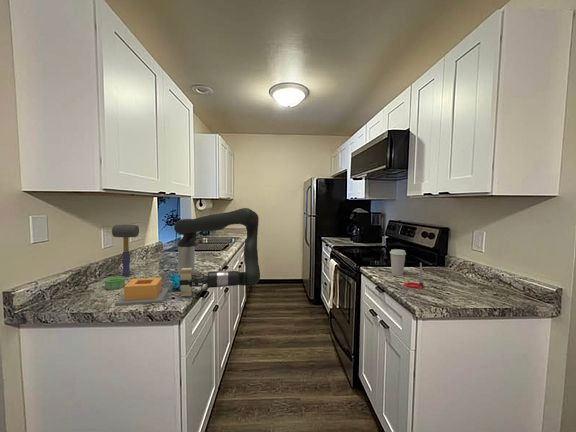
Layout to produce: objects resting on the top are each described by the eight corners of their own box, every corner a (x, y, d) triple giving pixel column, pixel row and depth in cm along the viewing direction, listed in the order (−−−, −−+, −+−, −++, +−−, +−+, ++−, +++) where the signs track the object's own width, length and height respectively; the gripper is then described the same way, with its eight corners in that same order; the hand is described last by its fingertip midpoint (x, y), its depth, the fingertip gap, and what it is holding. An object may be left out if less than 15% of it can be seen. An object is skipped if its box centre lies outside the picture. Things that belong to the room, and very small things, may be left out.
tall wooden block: (182, 293, 131) (181, 268, 131) (192, 292, 132) (192, 267, 132) (180, 296, 127) (180, 270, 126) (191, 295, 128) (191, 270, 127)
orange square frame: (128, 292, 132) (128, 277, 131) (169, 289, 136) (169, 275, 136) (114, 305, 114) (114, 289, 114) (161, 302, 119) (161, 286, 118)
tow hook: (402, 287, 147) (421, 289, 142) (401, 263, 147) (420, 264, 142) (406, 283, 154) (424, 286, 149) (405, 260, 154) (424, 262, 148)
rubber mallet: (111, 278, 155) (110, 224, 153) (117, 274, 162) (117, 223, 161) (135, 277, 156) (134, 225, 155) (140, 274, 164) (139, 224, 162)
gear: (179, 289, 131) (168, 273, 133) (171, 298, 132) (159, 281, 134) (193, 286, 142) (182, 271, 144) (185, 293, 142) (174, 278, 145)
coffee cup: (386, 274, 172) (387, 250, 172) (392, 271, 180) (393, 248, 179) (402, 277, 166) (403, 252, 165) (407, 274, 173) (408, 250, 173)
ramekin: (116, 290, 134) (115, 281, 134) (99, 289, 135) (99, 280, 135) (129, 285, 143) (129, 276, 143) (114, 284, 144) (114, 275, 144)
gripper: (218, 267, 139) (182, 269, 135) (218, 275, 126) (178, 277, 121) (218, 282, 140) (182, 284, 136) (218, 291, 126) (178, 294, 122)
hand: (180, 281), depth 129 cm, fingers open, 5 cm apart
